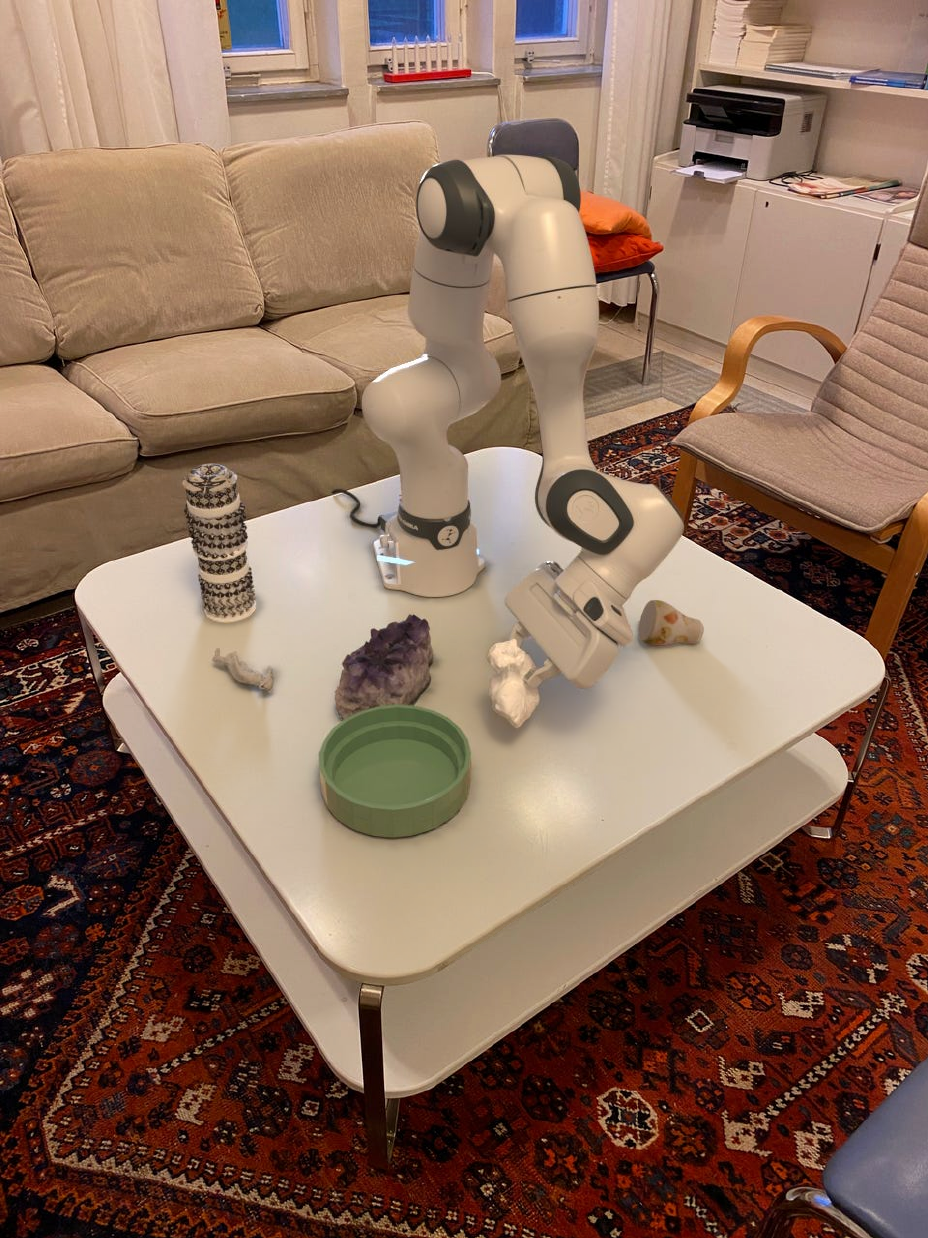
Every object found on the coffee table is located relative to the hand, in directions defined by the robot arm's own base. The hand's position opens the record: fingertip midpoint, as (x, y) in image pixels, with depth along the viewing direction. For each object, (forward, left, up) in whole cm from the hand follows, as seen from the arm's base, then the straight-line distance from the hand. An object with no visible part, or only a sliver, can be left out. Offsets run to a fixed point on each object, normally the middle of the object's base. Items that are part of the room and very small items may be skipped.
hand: (517, 669), depth 128 cm
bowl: (+4, -19, -10) cm, 22 cm away
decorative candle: (-45, -30, -10) cm, 55 cm away
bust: (0, -1, -6) cm, 6 cm away
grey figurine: (-25, -32, -10) cm, 42 cm away
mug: (-9, +32, -10) cm, 34 cm away
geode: (-15, -13, -10) cm, 22 cm away
